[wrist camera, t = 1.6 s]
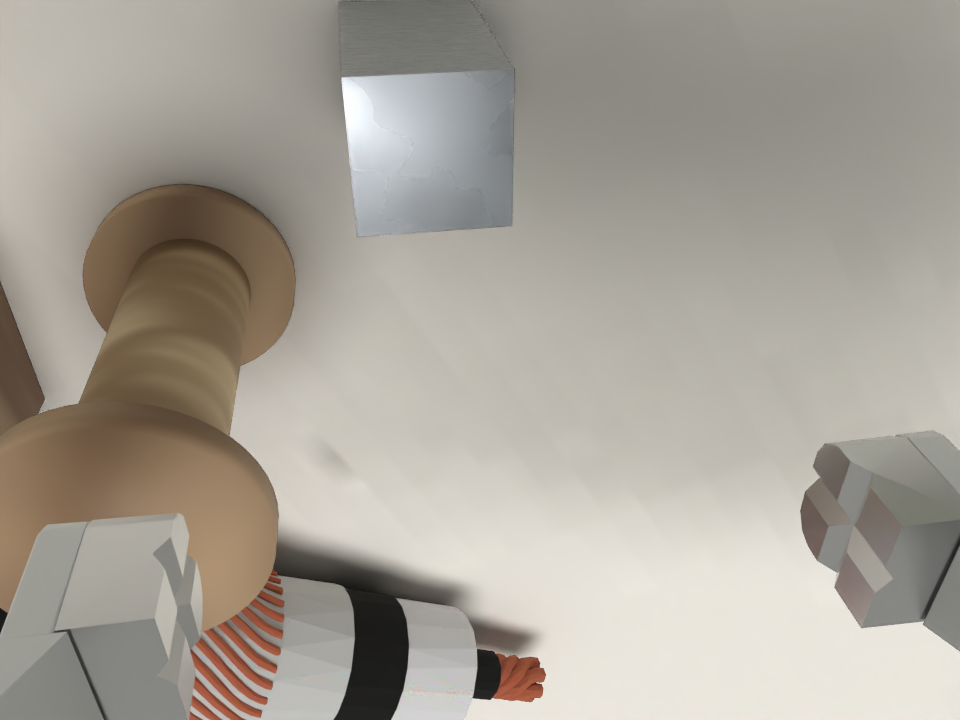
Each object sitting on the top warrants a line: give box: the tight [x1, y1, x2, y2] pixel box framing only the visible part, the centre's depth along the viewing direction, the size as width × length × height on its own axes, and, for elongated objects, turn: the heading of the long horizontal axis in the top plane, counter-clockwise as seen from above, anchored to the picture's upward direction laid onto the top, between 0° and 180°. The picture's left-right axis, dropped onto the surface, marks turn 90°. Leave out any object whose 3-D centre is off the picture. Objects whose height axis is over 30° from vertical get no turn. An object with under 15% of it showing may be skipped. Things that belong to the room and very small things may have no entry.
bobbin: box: [0, 185, 295, 632], centre depth 25 cm, size 7×7×13 cm
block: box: [339, 0, 515, 237], centre depth 24 cm, size 4×4×8 cm
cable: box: [0, 568, 546, 720], centre depth 35 cm, size 10×34×10 cm, turn 61°
